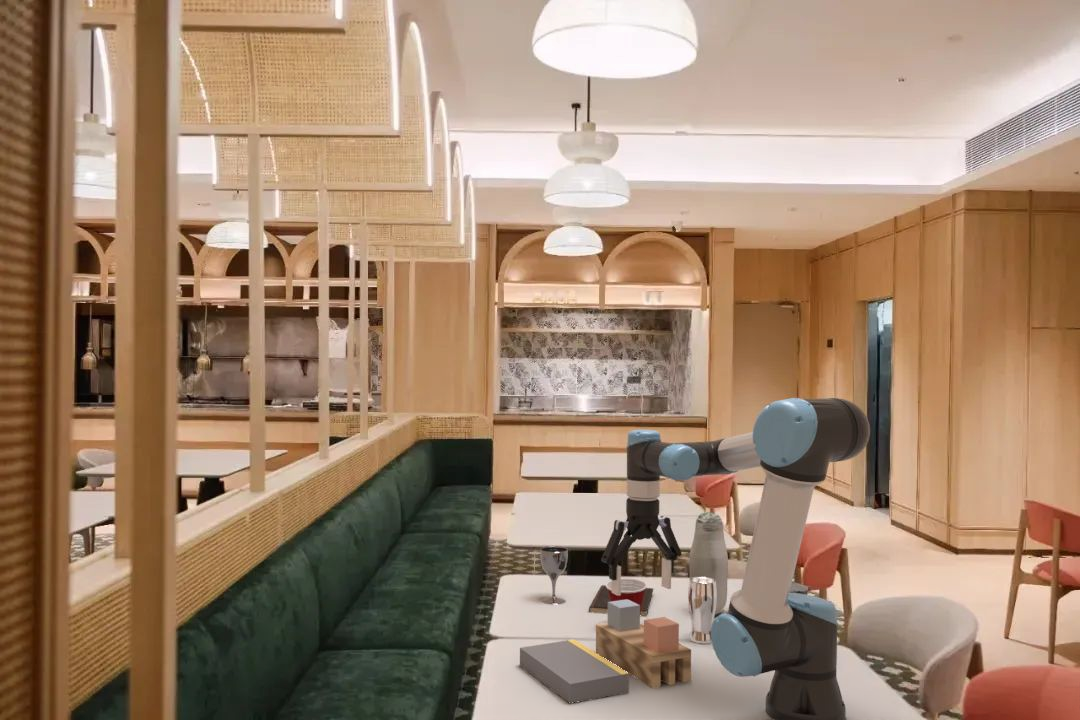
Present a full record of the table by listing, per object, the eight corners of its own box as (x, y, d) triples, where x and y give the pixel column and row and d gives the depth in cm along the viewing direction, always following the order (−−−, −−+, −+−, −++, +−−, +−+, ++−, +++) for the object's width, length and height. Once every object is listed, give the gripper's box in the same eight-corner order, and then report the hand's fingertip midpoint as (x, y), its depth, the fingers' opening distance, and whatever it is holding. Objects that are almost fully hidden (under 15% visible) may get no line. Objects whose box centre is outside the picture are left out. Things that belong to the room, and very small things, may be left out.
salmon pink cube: (678, 648, 187) (678, 623, 187) (657, 652, 184) (657, 627, 184) (664, 641, 192) (664, 616, 192) (643, 644, 189) (643, 619, 189)
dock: (632, 691, 180) (632, 672, 180) (570, 703, 173) (570, 683, 173) (577, 655, 201) (577, 638, 201) (519, 665, 195) (519, 647, 195)
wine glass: (535, 598, 249) (535, 547, 249) (559, 595, 252) (560, 545, 252) (547, 606, 242) (547, 553, 242) (572, 603, 245) (572, 550, 245)
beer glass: (716, 645, 210) (716, 584, 210) (687, 643, 211) (688, 582, 211) (716, 636, 217) (716, 577, 217) (688, 634, 218) (688, 575, 218)
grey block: (639, 628, 201) (640, 605, 201) (619, 631, 198) (620, 608, 198) (627, 622, 206) (627, 599, 206) (607, 625, 203) (607, 602, 203)
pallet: (690, 681, 187) (691, 649, 187) (652, 689, 182) (652, 656, 182) (631, 647, 208) (631, 619, 208) (595, 653, 204) (596, 624, 204)
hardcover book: (653, 596, 255) (653, 588, 255) (646, 618, 233) (646, 610, 233) (600, 592, 259) (600, 585, 259) (588, 614, 236) (588, 606, 236)
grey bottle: (683, 610, 239) (684, 510, 239) (715, 607, 242) (716, 508, 242) (700, 620, 230) (701, 516, 229) (733, 617, 233) (734, 514, 233)
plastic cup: (598, 632, 219) (598, 585, 219) (614, 620, 229) (615, 575, 229) (637, 638, 214) (638, 590, 214) (652, 627, 224) (653, 581, 224)
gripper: (678, 492, 204) (676, 580, 204) (587, 498, 193) (585, 592, 193) (697, 497, 197) (695, 588, 197) (604, 504, 186) (602, 601, 186)
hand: (641, 590), depth 195 cm, fingers open, 13 cm apart
